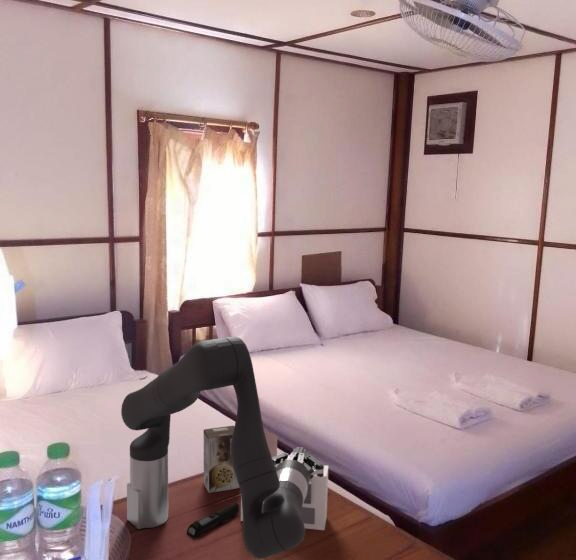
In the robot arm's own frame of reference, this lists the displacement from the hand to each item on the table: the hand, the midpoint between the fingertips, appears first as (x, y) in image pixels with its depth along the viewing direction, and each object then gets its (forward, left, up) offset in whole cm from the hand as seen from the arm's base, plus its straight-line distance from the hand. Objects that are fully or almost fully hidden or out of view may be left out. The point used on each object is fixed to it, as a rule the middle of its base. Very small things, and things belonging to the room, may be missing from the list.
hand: (300, 450), depth 137 cm
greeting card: (+14, +31, -24) cm, 42 cm away
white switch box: (+6, +12, -24) cm, 27 cm away
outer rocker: (+6, +5, -17) cm, 19 cm away
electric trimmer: (-9, +21, -24) cm, 34 cm away
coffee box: (+4, +36, -24) cm, 44 cm away
